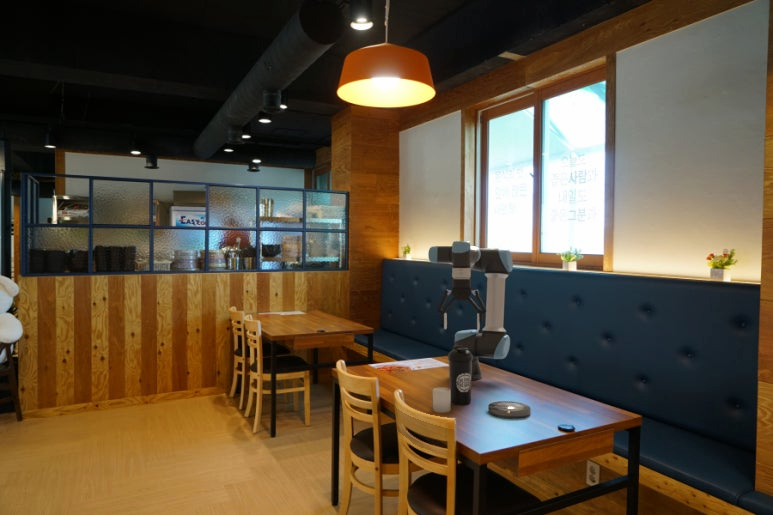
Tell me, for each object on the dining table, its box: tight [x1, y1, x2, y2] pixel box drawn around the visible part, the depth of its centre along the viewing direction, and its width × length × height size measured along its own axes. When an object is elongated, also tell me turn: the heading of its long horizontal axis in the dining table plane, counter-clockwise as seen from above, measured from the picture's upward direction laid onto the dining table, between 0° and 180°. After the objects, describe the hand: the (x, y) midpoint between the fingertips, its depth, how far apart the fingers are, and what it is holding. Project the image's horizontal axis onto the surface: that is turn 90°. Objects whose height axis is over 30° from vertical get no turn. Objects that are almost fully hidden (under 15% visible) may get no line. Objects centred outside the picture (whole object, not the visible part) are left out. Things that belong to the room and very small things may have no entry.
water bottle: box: [447, 345, 473, 406], centre depth 215 cm, size 10×10×23 cm
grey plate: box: [487, 400, 532, 420], centre depth 201 cm, size 16×16×2 cm
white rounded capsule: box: [432, 386, 452, 414], centre depth 205 cm, size 7×7×8 cm
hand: (461, 329), depth 214 cm, fingers open, 13 cm apart
